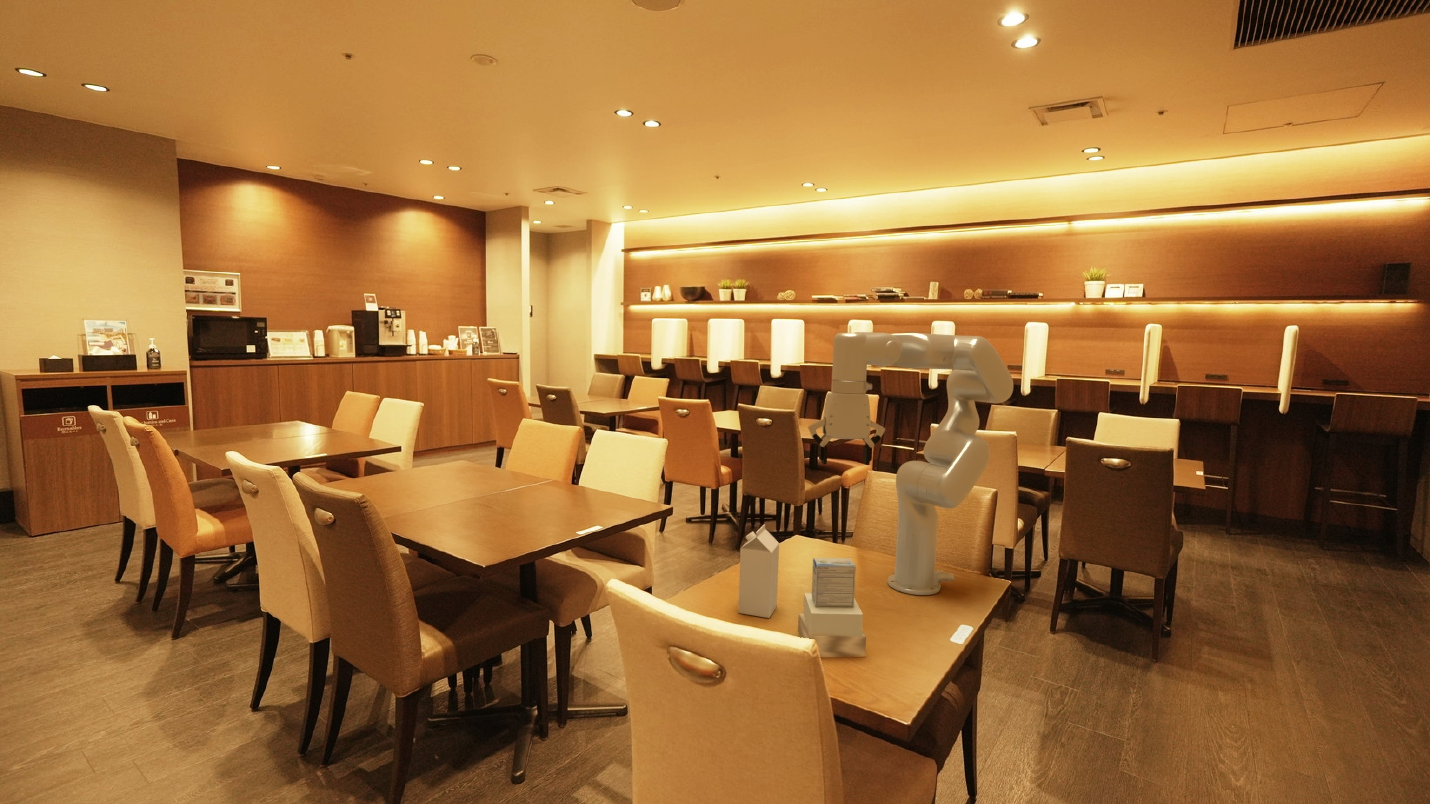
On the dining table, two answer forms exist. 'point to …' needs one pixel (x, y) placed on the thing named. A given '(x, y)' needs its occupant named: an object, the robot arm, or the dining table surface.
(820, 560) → the medicine box
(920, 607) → the dining table surface
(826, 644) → the tower base
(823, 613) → the tower top
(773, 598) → the milk carton
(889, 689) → the dining table surface
